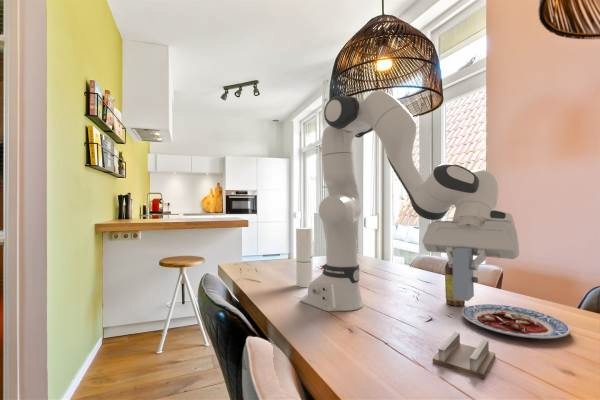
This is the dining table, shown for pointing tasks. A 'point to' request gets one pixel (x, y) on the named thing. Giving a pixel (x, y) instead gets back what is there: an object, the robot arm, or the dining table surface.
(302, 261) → the cylindrical container
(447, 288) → the sauce bottle
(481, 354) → the floor track
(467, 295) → the upright grey pillar
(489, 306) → the ceramic plate
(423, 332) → the dining table surface
